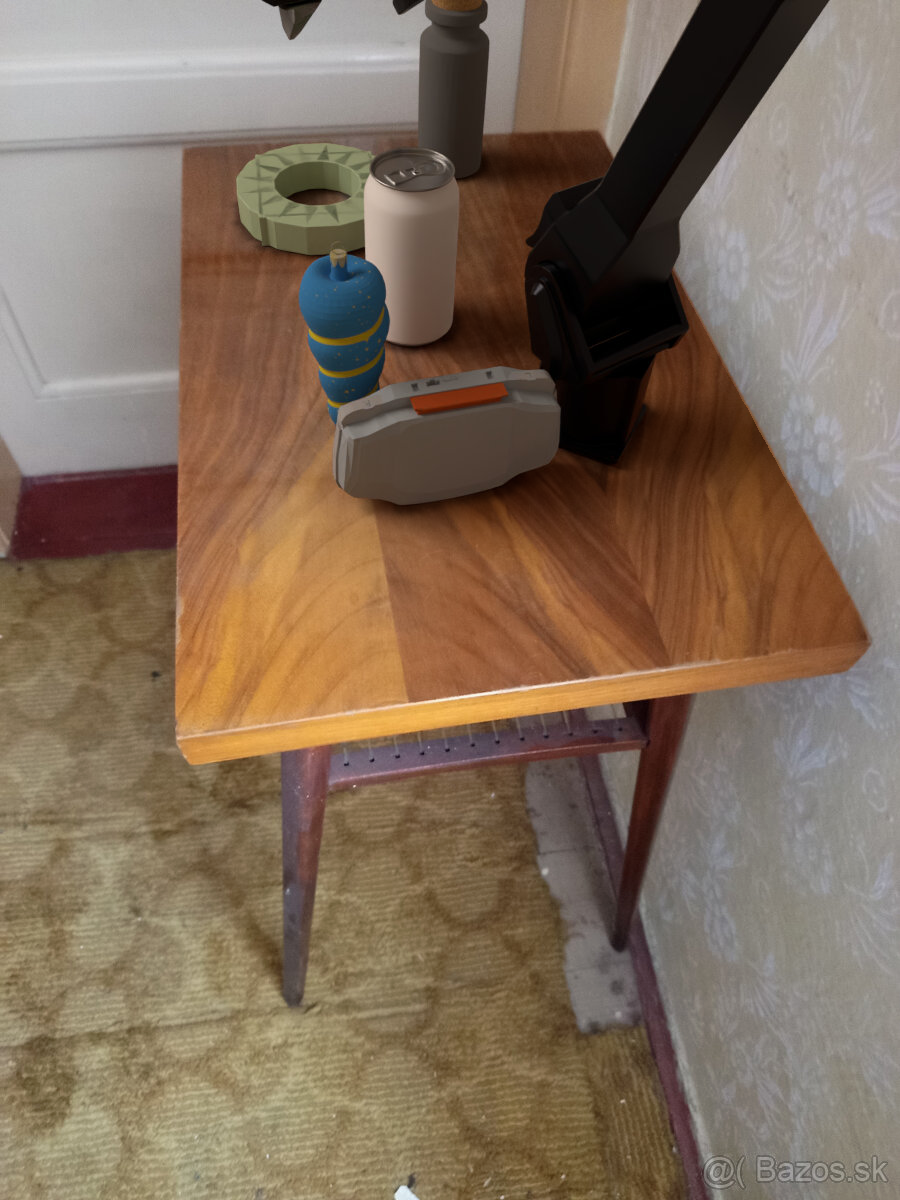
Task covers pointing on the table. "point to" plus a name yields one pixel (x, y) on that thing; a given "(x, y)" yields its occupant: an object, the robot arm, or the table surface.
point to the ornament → (345, 325)
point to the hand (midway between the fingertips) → (344, 21)
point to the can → (413, 240)
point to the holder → (298, 223)
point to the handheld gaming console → (446, 435)
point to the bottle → (454, 82)
